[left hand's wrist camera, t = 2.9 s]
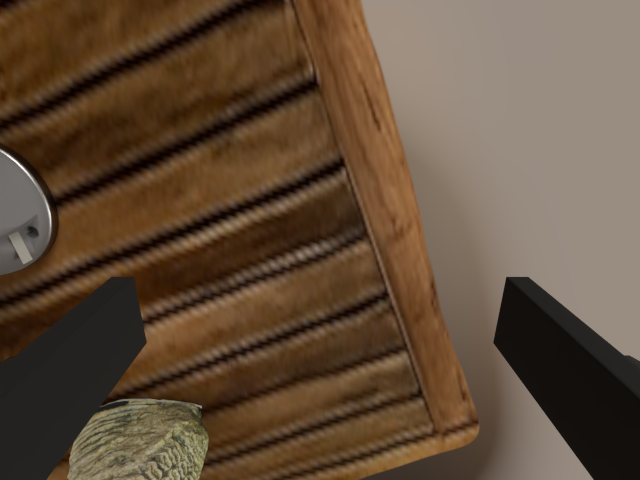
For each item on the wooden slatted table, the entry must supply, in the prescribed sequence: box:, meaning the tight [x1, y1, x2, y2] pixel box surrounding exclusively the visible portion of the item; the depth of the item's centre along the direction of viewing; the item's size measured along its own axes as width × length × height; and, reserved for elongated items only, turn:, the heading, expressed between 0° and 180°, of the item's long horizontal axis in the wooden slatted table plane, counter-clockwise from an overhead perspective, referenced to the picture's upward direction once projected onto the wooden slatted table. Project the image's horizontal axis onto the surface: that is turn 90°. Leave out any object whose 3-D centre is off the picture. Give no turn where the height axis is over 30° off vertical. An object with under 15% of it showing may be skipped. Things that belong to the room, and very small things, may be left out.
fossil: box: [67, 399, 209, 480], centre depth 44 cm, size 9×18×15 cm, turn 106°
